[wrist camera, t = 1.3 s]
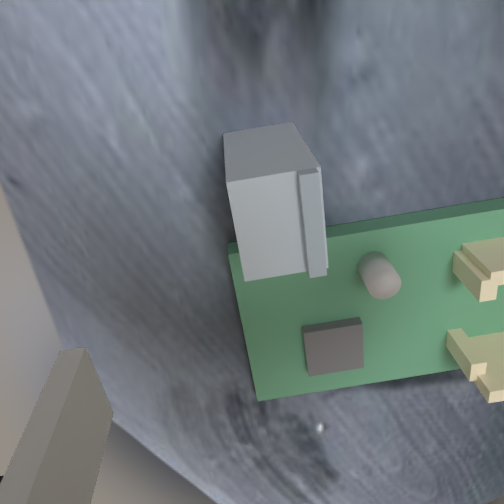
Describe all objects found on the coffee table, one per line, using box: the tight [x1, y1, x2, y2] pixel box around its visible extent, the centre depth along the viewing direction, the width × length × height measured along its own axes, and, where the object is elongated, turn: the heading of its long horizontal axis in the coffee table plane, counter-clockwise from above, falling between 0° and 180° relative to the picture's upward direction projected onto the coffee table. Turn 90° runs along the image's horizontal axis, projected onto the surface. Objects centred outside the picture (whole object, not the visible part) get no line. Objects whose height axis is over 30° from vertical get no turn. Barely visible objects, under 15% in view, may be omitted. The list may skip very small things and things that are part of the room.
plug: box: [223, 122, 329, 282], centre depth 23 cm, size 5×4×9 cm
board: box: [227, 197, 504, 403], centre depth 29 cm, size 13×24×6 cm, turn 99°
